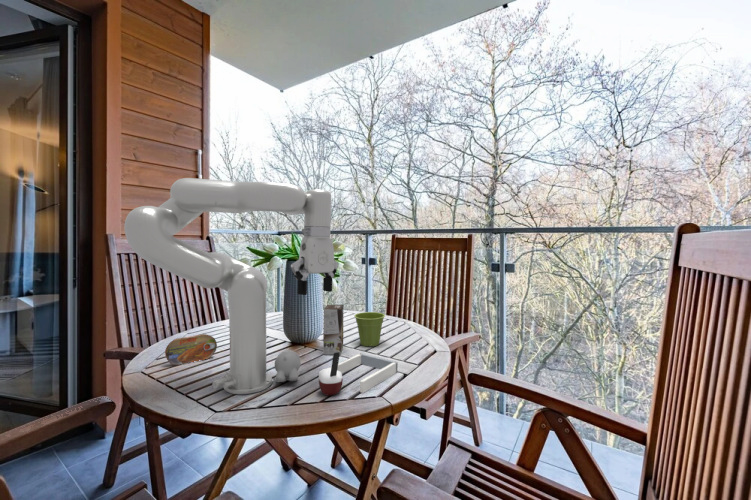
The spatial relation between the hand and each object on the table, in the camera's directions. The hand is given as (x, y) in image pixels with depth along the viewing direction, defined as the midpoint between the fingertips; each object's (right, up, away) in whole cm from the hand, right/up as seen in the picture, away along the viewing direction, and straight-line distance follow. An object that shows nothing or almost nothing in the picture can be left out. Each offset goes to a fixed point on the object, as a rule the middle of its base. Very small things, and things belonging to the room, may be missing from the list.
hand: (315, 292), depth 101 cm
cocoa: (+5, -26, -8) cm, 28 cm away
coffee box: (+2, -24, +26) cm, 36 cm away
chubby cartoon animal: (-8, -25, 0) cm, 26 cm away
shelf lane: (+13, -25, +3) cm, 28 cm away
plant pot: (+15, -24, +34) cm, 45 cm away
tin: (-43, -25, +14) cm, 51 cm away
